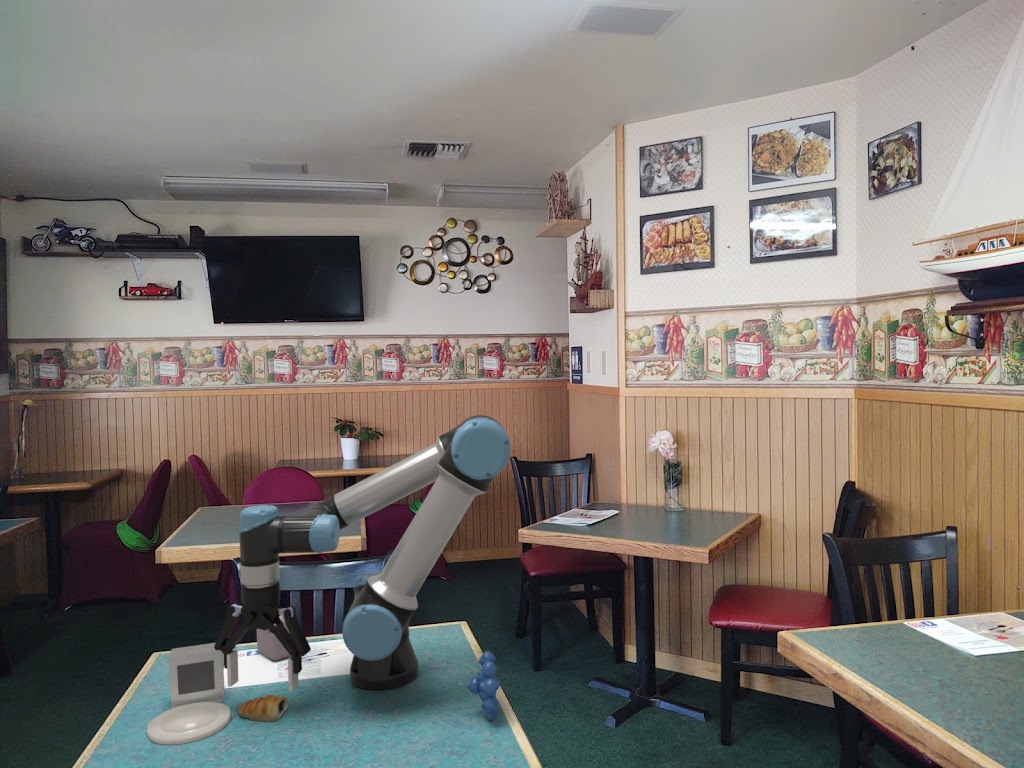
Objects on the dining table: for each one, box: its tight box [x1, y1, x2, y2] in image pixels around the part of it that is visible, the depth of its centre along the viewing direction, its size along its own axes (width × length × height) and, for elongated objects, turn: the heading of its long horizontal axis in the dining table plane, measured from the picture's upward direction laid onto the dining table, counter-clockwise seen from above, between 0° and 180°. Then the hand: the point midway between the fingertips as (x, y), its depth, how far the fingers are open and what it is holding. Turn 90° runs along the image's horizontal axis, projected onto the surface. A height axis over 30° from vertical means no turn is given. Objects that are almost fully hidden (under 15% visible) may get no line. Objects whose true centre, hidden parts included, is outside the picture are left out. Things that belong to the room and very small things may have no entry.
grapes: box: [466, 650, 502, 721], centre depth 146 cm, size 12×7×12 cm, turn 7°
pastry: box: [237, 694, 289, 722], centre depth 150 cm, size 9×7×4 cm
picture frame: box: [168, 642, 226, 709], centre depth 157 cm, size 10×6×11 cm, turn 108°
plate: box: [146, 702, 231, 746], centre depth 146 cm, size 15×15×1 cm
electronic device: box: [255, 615, 291, 662], centre depth 181 cm, size 10×5×10 cm, turn 43°
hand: (263, 686), depth 151 cm, fingers open, 13 cm apart
